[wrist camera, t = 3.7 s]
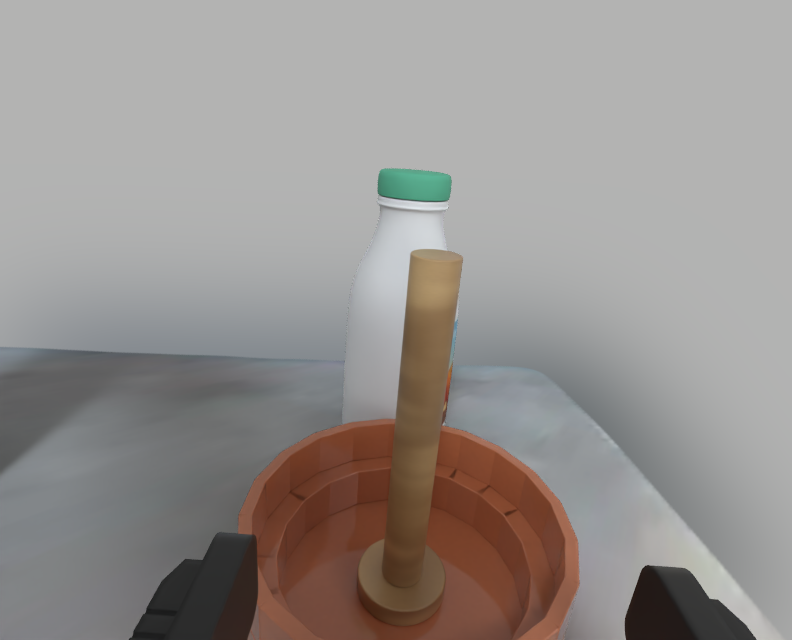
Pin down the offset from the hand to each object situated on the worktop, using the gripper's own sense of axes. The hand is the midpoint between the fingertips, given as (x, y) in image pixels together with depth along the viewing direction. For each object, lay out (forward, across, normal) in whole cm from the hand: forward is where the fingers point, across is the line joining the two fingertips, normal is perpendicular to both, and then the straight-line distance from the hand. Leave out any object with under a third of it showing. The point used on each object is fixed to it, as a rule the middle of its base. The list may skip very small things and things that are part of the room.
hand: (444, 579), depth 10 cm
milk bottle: (+23, +1, +13) cm, 27 cm away
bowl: (+10, 0, +13) cm, 17 cm away
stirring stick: (+10, 0, +12) cm, 16 cm away
